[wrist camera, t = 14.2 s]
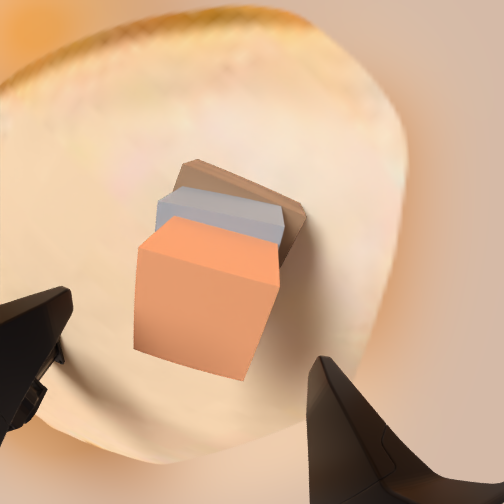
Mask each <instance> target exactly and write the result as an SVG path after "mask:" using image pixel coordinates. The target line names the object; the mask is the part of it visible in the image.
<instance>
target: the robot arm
mask: <svg viewBox="0 0 504 504" xmlns="http://www.w3.org/2000/svg"><path fill="white" fill-rule="evenodd" d="M72 312H73V302H72V295H71V291H70V289H68V288H66V287H63V286H59V287H56V288H52V289H49V290H46V291H43V292H40V293H36V294H33V295H30V296H27V297H24V298H20V299H17V300H14V301H11V302H8V303H5V304H2V305H0V446H1V444H2V441H3V439H4V437H5V435H6V433H7V432H8V431H12V430H15V429H18V428H20V427H22V426H23V424H26V423H27V422H29V421H30V420H31V418H32V417H33V416H34V415H35V413H36V412H37V410H38V408H39V406H40V404H41V402H42V400H43V398H44V396H45V394H46V392H47V390H48V389H47V388H46V387H45V386H43V385H42V384H41V383H40V382H39V380H40V379H41V378H42V376H43V375H44V374H45V372H46V371H47V370H48V368H49V367H50V366H51V364H52V363H53V362H54V361H56V362H58V363H60V364H64V362H65V361H64V357H63V354H62V351H61V347H60V343H59V337H60V335H61V333H62V331H63V329H64V327H65V326H66V324H67V322H68V320H69V318H70V316H71V314H72ZM306 421H307V439H308V461H309V493H310V504H503V503H504V482H502V483H497V484H488V483H476V482H468V481H460V480H454V479H448V478H444V477H442V476H440V475H438V474H436V473H435V472H433V471H432V470H431V469H430V468H429V467H428V466H427V465H426V464H425V463H423V462H422V461H421V460H420V459H419V458H418V457H417V456H416V455H415V454H414V453H413V452H412V451H411V450H410V449H409V448H408V447H407V446H406V445H405V444H404V443H403V442H402V441H401V440H400V439H399V438H398V437H397V436H396V435H395V433H394V432H393V431H392V430H391V429H390V427H389V426H388V425H386V423H385V422H384V420H383V419H382V418H381V417H380V416H379V415H378V413H377V412H376V411H375V410H374V409H373V407H372V406H371V405H370V404H369V403H368V402H367V400H366V399H365V398H364V397H363V396H362V394H361V393H360V392H359V391H358V390H357V388H356V387H355V386H354V385H353V384H352V382H351V381H350V380H349V379H348V378H347V376H346V375H345V374H344V373H343V372H342V370H341V369H340V368H339V367H338V366H337V364H336V363H335V362H334V361H333V360H332V359H331V358H330V357H327V356H318V357H317V359H316V361H315V363H314V364H313V366H312V368H311V370H310V372H309V376H308V393H307V409H306Z"/></svg>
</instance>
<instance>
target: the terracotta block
mask: <svg viewBox="0 0 504 504" xmlns="http://www.w3.org/2000/svg"><path fill="white" fill-rule="evenodd" d="M279 288H280V278H279V259H278V244H276V243H273V242H269V241H266V240H262V239H259V238H255V237H251V236H248V235H244V234H240V233H237V232H233V231H229V230H226V229H222V228H218V227H215V226H211V225H207V224H204V223H200V222H196V221H192V220H189V219H185V218H181V217H177V216H173V217H172V218H171V219H170V220H168V221H167V222H166V223H165V224H164V225H163V226H162V227H160V228H159V229H158V230H157V231H156V232H155V233H154V234H153V235H151V236H150V237H149V238H148V239H147V240H146V241H145V242H144V243H143V244H142V245H140V246H139V248H138V258H137V270H136V284H135V303H134V349H135V350H138V351H141V352H144V353H146V354H149V355H152V356H155V357H158V358H161V359H164V360H167V361H170V362H174V363H177V364H180V365H183V366H187V367H190V368H194V369H197V370H201V371H204V372H208V373H212V374H216V375H219V376H223V377H227V378H232V379H236V380H240V381H243V380H244V378H245V376H246V373H247V371H248V368H249V366H250V363H251V361H252V358H253V356H254V353H255V351H256V348H257V346H258V343H259V341H260V338H261V336H262V333H263V330H264V328H265V325H266V323H267V320H268V317H269V315H270V312H271V310H272V307H273V304H274V302H275V299H276V296H277V294H278V291H279Z"/></svg>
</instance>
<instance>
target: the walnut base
mask: <svg viewBox="0 0 504 504" xmlns="http://www.w3.org/2000/svg"><path fill="white" fill-rule="evenodd" d="M182 186H184V187H189V188H195V189H200V190H206V191H211V192H216V193H221V194H226V195H231V196H236V197H241V198H246V199H251V200H255V201H260V202H265V203H269V204H274V205H278V206H281V208H282V214H283V220H284V226H285V227H284V231H283V235H282V239H281V243H280V247H279V250H278V259H279V269H280V267H281V265H282V263H283V262H284V260H285V258H286V256H287V254H288V252H289V250H290V248H291V246H292V245H293V243H294V241H295V239H296V237H297V235H298V233H299V231H300V229H301V227H302V225H303V223H304V221H305V219H306V218H307V217H306V215H305V212H304V210H303V208H302V206H301V204H300V203H299V202H296V201H294V200H292V199H290V198H288V197H286V196H283V195H281V194H279V193H277V192H275V191H272V190H270V189H268V188H266V187H263V186H261V185H259V184H257V183H254V182H252V181H250V180H247V179H245V178H243V177H240V176H238V175H236V174H233V173H231V172H228V171H226V170H224V169H221V168H219V167H216V166H214V165H211V164H209V163H206V162H204V161H201V160H199V159H197V160H193V161H190V162H187V163H184V164H182V167H181V170H180V172H179V175H178V178H177V181H176V184H175V186H174V189H173V192H174V191H175V190H177V189H179V188H180V187H182Z"/></svg>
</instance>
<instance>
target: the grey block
mask: <svg viewBox="0 0 504 504" xmlns="http://www.w3.org/2000/svg"><path fill="white" fill-rule="evenodd" d="M173 216H177V217H181V218H185V219H189V220H192V221H196V222H200V223H204V224H207V225H211V226H215V227H218V228H222V229H226V230H229V231H233V232H237V233H240V234H244V235H248V236H251V237H255V238H259V239H262V240H266V241H269V242H273V243H276V244H278V250H279V247H280V243H281V239H282V235H283V231H284V227H285V226H284V220H283V214H282V208H281V206H278V205H274V204H269V203H265V202H260V201H255V200H251V199H246V198H241V197H236V196H231V195H226V194H221V193H216V192H211V191H206V190H200V189H195V188H189V187H184V186H182V187H180V188H179V189H177V190H175V191H174V192H172V193H170V194H169V195H167V196H165V197H164V198H162V199H160V200H159V201H158V205H157V216H156V227H155V232H156V231H157V230H158V229H159V228H160V227H162V226H163V225H164V224H165V223H166V222H167V221H168V220H170V219H171V218H172V217H173Z"/></svg>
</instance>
